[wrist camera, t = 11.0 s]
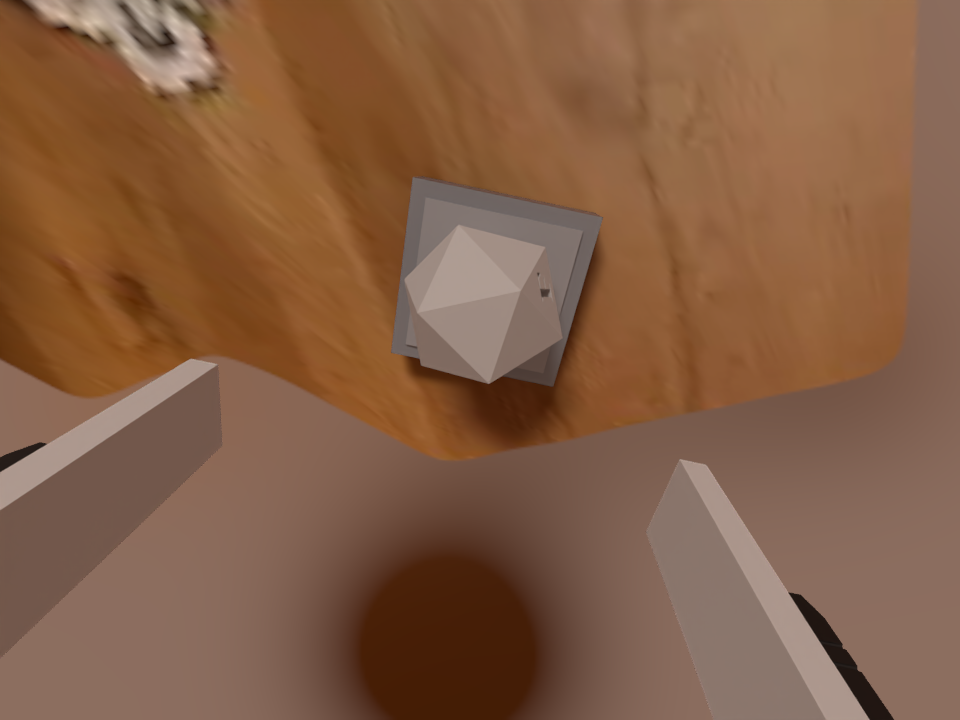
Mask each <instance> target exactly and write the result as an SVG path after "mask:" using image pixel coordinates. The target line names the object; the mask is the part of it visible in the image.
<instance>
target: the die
mask: <svg viewBox="0 0 960 720" xmlns="http://www.w3.org/2000/svg"><path fill="white" fill-rule="evenodd" d="M404 281H405V286H406V291H407V296H408V301H409V306H410V312H411V317H412V322H413V327H414V332H415V337H416V342H417V347H418V353H419V358H420V363H421V366H424V367H428V368H432V369H436V370H439V371H443V372H447V373H450V374H454V375H458V376H461V377H465V378H469V379H473V380H476V381H480V382H484V383H487V384H490V383H491V382H493V381H495V380H496V379H498V378H500V377H501V376H503V375H504V374H506V373H508V372H509V371H511V370H512V369H514V368H516V367H517V366H519V365H520V364H522V363H524V362H525V361H527V360H528V359H530V358H532V357H533V356H535V355H537V354H538V353H540V352H541V351H543V350H545V349H546V348H548V347H549V346H551V345H553V344H554V343H556V342H557V341H559V340H561V339H562V338H563V337H562V332H561V326H560V321H559V316H558V311H557V305H556V300H555V295H554V290H553V284H552V279H551V274H550V269H549V263H548V258H547V253H546V248H545V247H543V246H539V245H535V244H531V243H527V242H523V241H520V240H516V239H512V238H508V237H504V236H500V235H496V234H492V233H488V232H485V231H481V230H477V229H473V228H469V227H465V226H461V225H458V226H457V227H456V228H455V229H454V230H453V231H452V232H451V233H450V234H449V235H448V236H447V237H446V238H445V239H444V240H443V241H442V242H441V243H440V244H439V245H438V246H437V247H436V248H435V249H434V250H433V251H432V252H431V253H430V254H429V255H428V256H427V257H426V258H425V259H424V260H423V261H422V262H421V263H420V264H419V265H418V266H417V267H416V268H415V269H414V270H413V271H412V272H411V273H410V274H409V275H408V276H407V277H406V278H405V279H404Z"/></svg>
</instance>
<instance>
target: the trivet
mask: <svg viewBox="0 0 960 720" xmlns="http://www.w3.org/2000/svg"><path fill="white" fill-rule="evenodd" d="M602 219H603V217H601V216H599V215H598V214H596V213H592V212H588V211H583V210H578V209H574V208H569V207H564V206H559V205H555V204H550V203H545V202H541V201H536V200H531V199H527V198H522V197H517V196H512V195H508V194H503V193H498V192H494V191H489V190H484V189H480V188H475V187H470V186H465V185H461V184H456V183H451V182H447V181H442V180H437V179H433V178H428V177H423V176H421V177H413V180H412V188H411V197H410V205H409V213H408V221H407V229H406V237H405V245H404V253H403V261H402V269H401V278H400V286H399V294H398V302H397V310H396V318H395V326H394V334H393V342H392V350H391V353H395V354H400V355H405V356H409V357H414V358H419V353H418V347H417V342H416V337H415V332H414V327H413V322H412V317H411V312H410V306H409V301H408V296H407V291H406V286H405V281H404V279H405V278H406V277H407V276H408V275H409V274H410V273H411V272H412V271H413V270H414V269H415V268H416V267H417V266H418V265H419V264H420V263H421V262H422V261H423V260H424V259H425V258H426V257H427V256H428V255H429V254H430V253H431V252H432V251H433V250H434V249H435V248H436V247H437V246H438V245H439V244H440V243H441V242H442V241H443V240H444V239H445V238H446V237H447V236H448V235H449V234H450V233H451V232H452V231H453V230H454V229H455V228H456V227H457V226H458V225H461V226H465V227H469V228H473V229H477V230H481V231H485V232H488V233H492V234H496V235H500V236H504V237H508V238H512V239H516V240H520V241H523V242H527V243H531V244H535V245H539V246H543V247H545V248H546V253H547V258H548V263H549V269H550V274H551V279H552V284H553V290H554V295H555V300H556V305H557V311H558V316H559V321H560V326H561V332H562V337H563V338H562V339H561V340H559V341H557V342H556V343H554V344H553V345H551V346H549V347H548V348H546V349H545V350H543V351H541V352H540V353H538V354H537V355H535V356H533V357H532V358H530V359H528V360H527V361H525V362H524V363H522V364H520V365H519V366H517V367H516V368H514V369H512V370H511V371H509V372H508V373H506V374H504V375H503V376H504V377H509V378H514V379H518V380H523V381H528V382H533V383H537V384H542V385H547V386H551V387H553V386H554V382H555V379H556V375H557V372H558V369H559V365H560V362H561V358H562V355H563V352H564V348H565V345H566V341H567V338H568V335H569V331H570V328H571V324H572V321H573V318H574V314H575V311H576V307H577V304H578V301H579V297H580V294H581V290H582V287H583V284H584V280H585V277H586V273H587V270H588V267H589V263H590V260H591V256H592V253H593V250H594V246H595V243H596V239H597V236H598V233H599V229H600V226H601V222H602ZM419 359H420V358H419Z"/></svg>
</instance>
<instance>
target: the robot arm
mask: <svg viewBox="0 0 960 720" xmlns="http://www.w3.org/2000/svg"><path fill="white" fill-rule="evenodd" d="M221 446H222V431H221V412H220V392H219V372H218V364H214V363H209V362H204V361H199V360H195V359H190V360H188V361H186V362H184V363H183V364H181V365H179V366H178V367H176V368H174V369H173V370H171V371H169V372H168V373H166V374H164V375H163V376H161V377H159V378H158V379H156V380H154V381H153V382H151V383H149V384H148V385H146V386H144V387H143V388H141V389H139V390H137V391H136V392H134V393H132V394H131V395H129V396H127V397H126V398H124V399H122V400H121V401H119V402H117V403H116V404H114V405H112V406H111V407H109V408H107V409H106V410H104V411H102V412H101V413H99V414H97V415H96V416H94V417H92V418H91V419H89V420H87V421H86V422H84V423H82V424H80V425H79V426H77V427H76V428H74V429H72V430H70V431H69V432H67V433H65V434H64V435H62V436H60V437H59V438H57V439H55V440H54V441H52V442H50V443H49V444H45V443H37V444H34V445H31V446H28V447H26V448H23V449H20V450H17V451H14V452H12V453H9V454H6V455H4V456H2V457H0V658H1V657H2V656H3V655H4V654H5V653H6V652H7V651H8V650H10V649H11V648H12V647H13V646H14V645H15V644H16V643H17V642H18V641H19V640H20V639H21V638H22V637H23V636H24V635H25V634H26V633H27V632H28V631H29V630H30V629H31V628H33V626H35V624H37V623H38V622H39V621H40V620H41V619H42V618H43V617H44V616H45V615H46V614H47V613H48V612H49V611H50V610H51V609H52V608H53V607H54V606H55V605H56V604H58V603H59V602H60V601H61V600H62V599H63V598H64V597H65V596H66V595H67V594H68V593H69V592H70V591H71V590H72V589H73V588H74V587H75V586H76V585H77V584H78V583H79V582H80V581H82V580H83V578H85V577H86V576H87V575H88V574H89V573H90V572H91V571H92V570H93V569H94V568H95V567H96V566H97V565H98V564H99V563H100V562H101V561H102V560H104V559H105V558H106V556H107V555H109V554H110V553H111V552H112V551H113V550H114V549H115V548H116V547H117V546H118V545H119V544H120V543H121V542H122V541H123V540H124V539H125V538H126V537H128V536H129V535H130V534H131V533H132V532H133V531H134V530H135V529H136V528H137V527H138V526H139V525H140V524H141V523H142V522H143V521H144V520H145V519H146V518H147V517H148V516H149V515H150V514H151V513H152V512H153V511H155V509H157V508H158V507H159V506H160V505H161V504H162V503H163V502H164V501H165V500H166V499H167V498H168V497H169V496H170V495H171V494H172V493H173V492H174V491H176V490H177V489H178V488H179V487H180V486H181V485H182V484H183V483H184V482H185V481H186V480H187V479H188V478H189V477H190V476H191V475H192V474H193V473H194V472H195V471H196V470H197V469H199V468H200V467H201V466H202V465H203V464H204V463H205V462H206V461H207V460H208V459H209V458H210V457H211V456H212V455H213V454H214V453H215V452H216V451H217V450H218V449H219V448H220V447H221ZM646 533H647V536H648V539H649V541H650V544H651V547H652V550H653V552H654V555H655V558H656V560H657V564H658V566H659V569H660V571H661V575H662V578H663V580H664V583H665V586H666V588H667V591H668V594H669V597H670V599H671V603H672V605H673V608H674V611H675V613H676V617H677V619H678V622H679V625H680V628H681V630H682V633H683V636H684V638H685V641H686V644H687V647H688V650H689V653H690V655H691V658H692V661H693V663H694V667H695V669H696V672H697V675H698V678H699V681H700V683H701V686H702V689H703V692H704V694H705V697H706V700H707V703H708V705H709V708H710V711H711V714H712V717H713V719H714V720H894V719H893V717H892V716H891V714H890V713H889V712H888V710H887V709H886V707H885V706H884V704H883V703H882V701H881V700H880V698H879V697H878V696H877V694H876V693H875V691H874V690H873V688H872V687H871V685H870V684H869V682H868V681H867V679H866V678H865V676H864V675H863V674H862V672H859V671H858V670H857V665H856V663H855V662H854V660H853V659H852V657H851V656H850V655H849V653H848V652H847V650H845V649H843V648H842V643H841V641H840V640H839V639H838V637H837V636H836V634H835V633H834V631H833V630H832V629H831V627H830V625H829V624H828V622H827V621H826V620H825V618H824V617H823V616H822V615H821V614H820V613H819V612H818V611H817V610H816V609H815V608H814V607H813V606H812V605H810V604H809V603H808V602H807V601H806V600H805V599H804V598H803V597H802V596H801V595H799V594H794V593H789V592H787V590H786V589H785V587H784V585H783V584H782V582H781V581H780V580H779V578H778V576H777V575H776V573H775V571H774V570H773V568H772V567H771V565H770V564H769V562H768V560H767V559H766V557H765V556H764V554H763V553H762V551H761V550H760V548H759V546H758V545H757V543H756V542H755V540H754V539H753V537H752V536H751V534H750V533H749V531H748V529H747V528H746V526H745V525H744V523H743V521H742V520H741V518H740V517H739V515H738V514H737V512H736V511H735V509H734V507H733V506H732V504H731V503H730V502H729V500H728V498H727V497H726V495H725V494H724V492H723V490H722V489H721V487H720V486H719V484H718V483H717V481H716V479H715V478H714V476H713V475H712V473H711V472H710V470H709V468H708V467H707V465H705V464H700V463H695V462H691V461H686V460H681V459H680V460H679V462H678V464H677V466H676V468H675V470H674V472H673V475H672V477H671V479H670V481H669V483H668V485H667V488H666V490H665V492H664V494H663V497H662V498H661V501H660V503H659V505H658V507H657V509H656V512H655V514H654V516H653V518H652V520H651V523H650V525H649V527H648V529H647V532H646Z"/></svg>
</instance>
